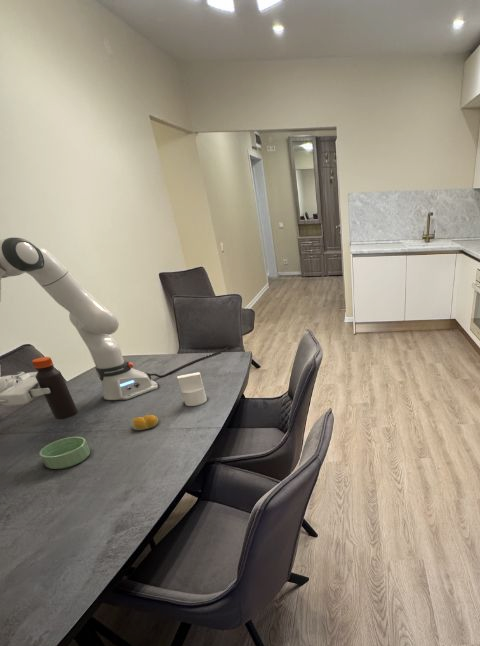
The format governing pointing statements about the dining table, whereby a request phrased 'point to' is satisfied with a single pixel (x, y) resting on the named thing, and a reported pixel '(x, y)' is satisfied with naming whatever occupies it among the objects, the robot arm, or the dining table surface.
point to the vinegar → (54, 389)
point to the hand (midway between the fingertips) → (56, 385)
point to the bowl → (65, 452)
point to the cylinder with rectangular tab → (192, 389)
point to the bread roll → (145, 422)
